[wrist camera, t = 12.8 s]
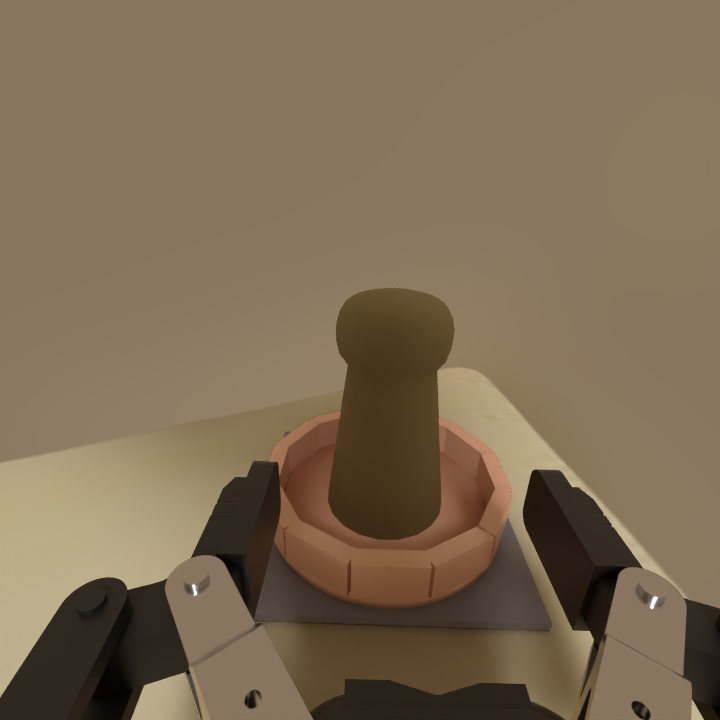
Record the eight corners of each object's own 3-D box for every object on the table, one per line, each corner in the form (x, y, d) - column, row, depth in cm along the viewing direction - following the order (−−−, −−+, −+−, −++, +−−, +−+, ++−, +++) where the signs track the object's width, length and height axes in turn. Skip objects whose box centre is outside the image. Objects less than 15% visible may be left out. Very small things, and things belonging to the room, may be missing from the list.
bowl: (238, 603, 17) (233, 561, 16) (290, 435, 28) (288, 404, 27) (538, 614, 17) (550, 572, 16) (470, 441, 28) (474, 410, 27)
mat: (227, 619, 17) (225, 612, 17) (285, 436, 29) (285, 431, 28) (549, 630, 17) (552, 624, 16) (473, 442, 29) (474, 437, 28)
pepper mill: (378, 447, 26) (388, 272, 22) (463, 495, 22) (495, 295, 18) (303, 494, 22) (296, 291, 18) (391, 563, 18) (410, 325, 14)
